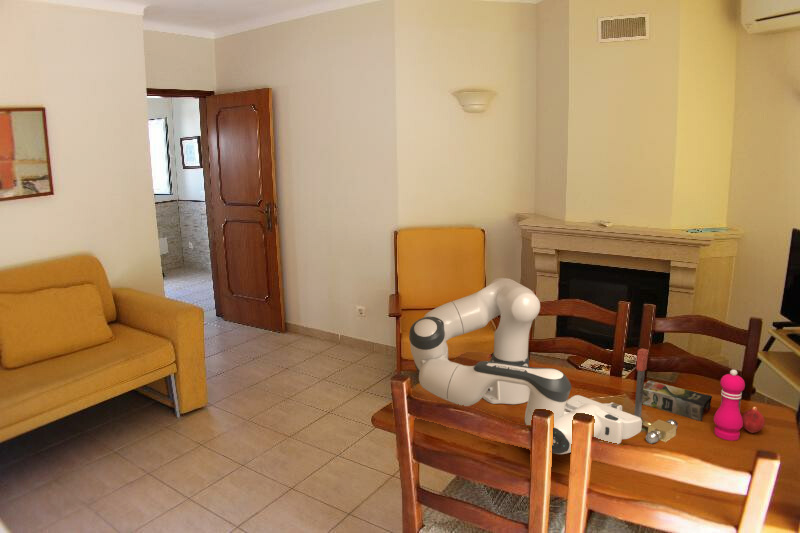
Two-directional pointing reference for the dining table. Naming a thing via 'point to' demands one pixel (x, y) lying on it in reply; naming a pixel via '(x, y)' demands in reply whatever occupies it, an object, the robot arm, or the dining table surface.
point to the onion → (753, 420)
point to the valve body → (660, 430)
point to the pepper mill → (729, 407)
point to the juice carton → (675, 400)
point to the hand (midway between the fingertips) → (617, 406)
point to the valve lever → (640, 380)
